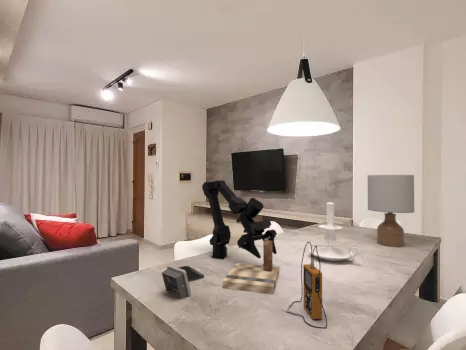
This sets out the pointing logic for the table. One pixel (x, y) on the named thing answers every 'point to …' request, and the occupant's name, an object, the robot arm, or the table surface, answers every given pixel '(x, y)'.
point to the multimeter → (311, 290)
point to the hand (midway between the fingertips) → (268, 255)
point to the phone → (192, 273)
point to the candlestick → (332, 240)
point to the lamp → (391, 204)
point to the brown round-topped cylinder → (267, 255)
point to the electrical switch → (176, 282)
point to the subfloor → (251, 278)
